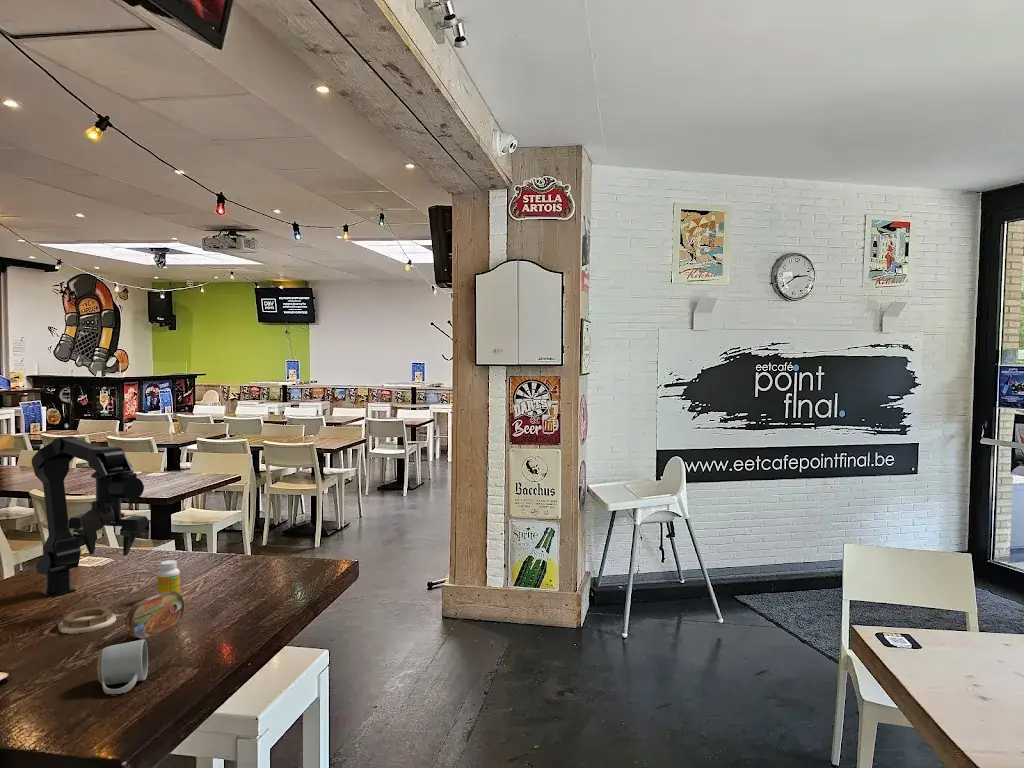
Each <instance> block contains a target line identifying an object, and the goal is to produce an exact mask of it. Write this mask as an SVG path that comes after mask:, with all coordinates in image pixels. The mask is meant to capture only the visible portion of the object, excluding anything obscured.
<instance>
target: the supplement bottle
mask: <svg viewBox="0 0 1024 768" xmlns="http://www.w3.org/2000/svg"><path fill="white" fill-rule="evenodd" d="M159 564H160V566H159V568H160V570H159V571H158V572H157V595H158V594H160V593H163V592H177V593H179V594H180V595H181V575H180V574H181V571H180V569H179V568H177V567H178V562H177V560H174V559H172V560H171V559H168V560H163V561H161V562H160V563H159Z"/></svg>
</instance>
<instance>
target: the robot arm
mask: <svg viewBox="0 0 1024 768" xmlns="http://www.w3.org/2000/svg"><path fill="white" fill-rule="evenodd" d="M124 451H125V450H124V449H123V448H122V447H119V446H100V445H97V444H93V443H91V442H87V441H85V440H82V439H79V438H77V437H76V436H73V435H70V436H69V435H68V436H67V435H66V436H60V437H56V438H55V439H53V440H52V442H50V443H49V444H47V445H44V446H43V447H42V448H39V450H38V451H37V452H36V453H35V454H34V455H33V456H32V458H31V466H32V468H33V473H34V475H35V477H36V478H37V479H38V480H39V481H40V482H41V483H42V487H43V495H44V496H43V497H44V504H45V505H44V506H45V515H46V522H47V530H48V531H47V532H48V536H47V538H46V540H45V542H44V544H43V547H42V551H43V552H42V556H41V557H40V559H39V560H38V562H37V563H36V566H35V568H36V573H37V574H40V575H45V589H43V590H41V591H40V594H42V595H45V596H46V597H47V596H48V597H49V598H53V597H56V596H61V595H64V594H68V593H72V592H76V591H77V589H76V588H74V587H72V586H71V569H75V568H76V569H77V568H78V567H79V565H80V564H79V563H80V559H81V556H82V555H81V553H82V550H81V545H80V538H79V537H78V536H74V534H72V533H71V530H72V532H74V533H77V534H78V535H80V537H81V538H82V540H83V541H84V543H85V547H86V549H87V550H88V553H89V555H94V554H95V551H96V542H97V533H98V532H97V531H100V530H102V529H103V527H121V529H122V530H123V531H120V534H121V536H122V537H123V539H122V540H123V542H122V543H123V546H122V547H123V549H122V552H123V557H127V556H128V555H129V552H130V551H131V548H132V546H133V544H134V542H135V540H136V538H137V537H138V534H139V533H140V532H141V531H143V530H144V529H145V528H147V527H149V525H150V523H149V522H150V521H149V519H148V517H147V516H146V515H132V516H128V517H127V518H125V513H124V512H122V503H124V502H125V500H129V501H135V500H137V499H138V498H140V497H142V495H143V492H144V490H145V485H144V483H143V481H142V480H141V479H140V478H138V477H137V476H138V475H137V472H134V470H133V465H132V464H131V463H130V461H129V458H128V457H127V455H126V453H125V452H124ZM74 458H77V459H80V460H82V461H85V462H87V463H88V465H87V466H88V467H89V468H90V469H92V470H94V472H93V473H92V474H91V476H90V477H91V478H92V479H95V500H94V501H92V504H91V508H90V509H89V510H88V511H86V512H85V513H81V514H78V515H74V516H71V517H70V518H69V514H68V513H69V512H68V505H67V498H66V497H67V495H66V489H65V487H66V486H65V479H66V477H67V476H68V474H69V472H70V463H71V462H72V461H73V460H74Z"/></svg>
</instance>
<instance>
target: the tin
mask: <svg viewBox="0 0 1024 768" xmlns="http://www.w3.org/2000/svg"><path fill="white" fill-rule="evenodd" d="M184 609H185V602H184V598H183V596H182V595H181V593H180V594H179V593H177V592H163V593H160V594H158V593H157V594H156V595H154V596H150V597H148V598H146V599H143V600H140V601H138V602H136V603H134V604H133V605H132V606H131V607H130V608H129V610H128V611H127V613H126V616H125V629H126V632H127V634H128V635H129V636H130V637H132V638H136V639H139V640H142V639H144V640H147V639H149V638H151V637H153V636H156V635H157V633H158V634H159V633H161V632H164V631H166V630H168V629H170V628H173V627H174V626H176V625H177V624H178V623H179V622H180V620H181V619H182V616H183V614H184ZM148 637H149V638H148Z"/></svg>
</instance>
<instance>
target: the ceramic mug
mask: <svg viewBox="0 0 1024 768" xmlns="http://www.w3.org/2000/svg"><path fill="white" fill-rule="evenodd" d="M146 640H147V639H138V640H134V641H129V642H123V643H119V644H118V643H117V644H114V645H109V646H106V647H104V648H101V650H100V651H99V654H98V657H97V665H96V666H97V667H96V668H97V669H96V670H97V671H96V672H97V680H98V682H99V683H100V684H101V685H102V690H103V692H104V693H105V694H106V695H108V694H121V693H124V694H125V693H128V692H129V691H130V690H132V689H133V688H134V687H135V685H136V684H137V682H141V681H145V680H146V679H147V675H148V668H149V652H148V649H149V648H148V644H147V641H146ZM124 683H127V684H125V685H124V686H121V687H119V688H109V687H107V685H108V686H110V685H118V684H124ZM121 695H122V694H121Z"/></svg>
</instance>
